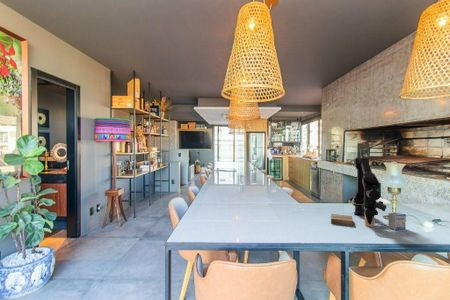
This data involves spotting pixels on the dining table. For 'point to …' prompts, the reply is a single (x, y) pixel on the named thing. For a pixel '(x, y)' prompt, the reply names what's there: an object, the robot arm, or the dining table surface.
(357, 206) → the robot arm
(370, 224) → the terracotta block
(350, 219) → the walnut base
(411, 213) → the dining table surface
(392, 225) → the medicine box
